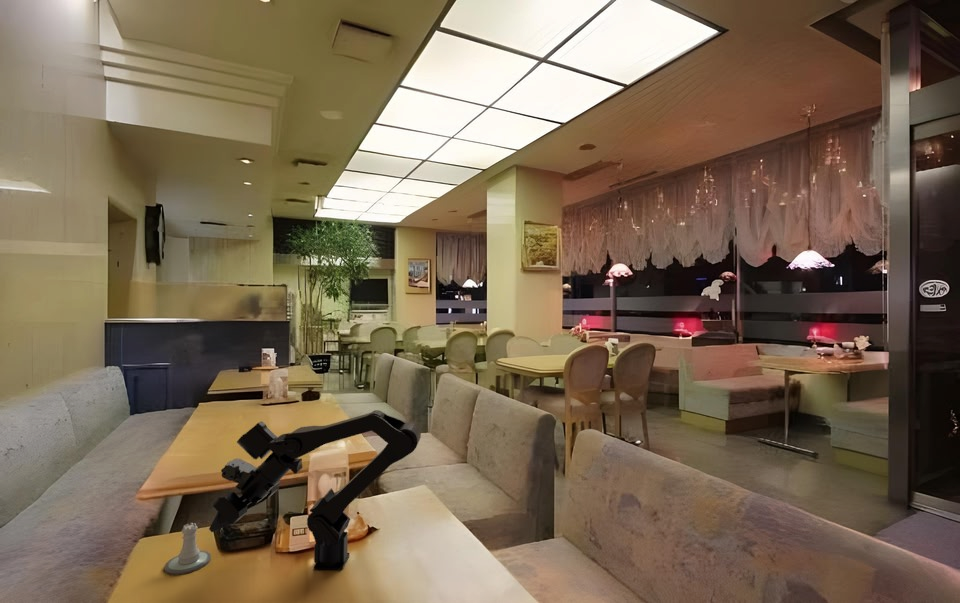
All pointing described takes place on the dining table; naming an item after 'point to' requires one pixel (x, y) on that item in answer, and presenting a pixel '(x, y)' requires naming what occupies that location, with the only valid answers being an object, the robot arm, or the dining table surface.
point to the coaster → (177, 568)
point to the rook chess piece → (189, 545)
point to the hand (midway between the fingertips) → (223, 521)
